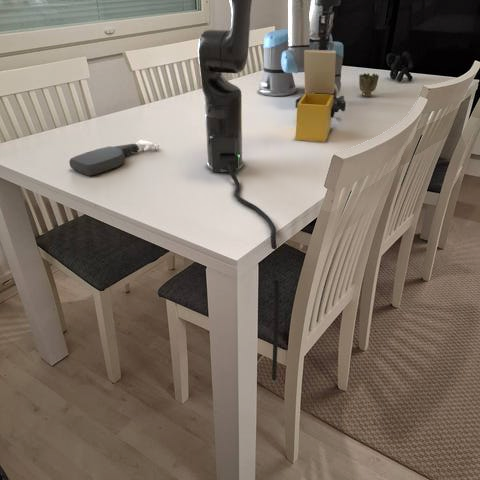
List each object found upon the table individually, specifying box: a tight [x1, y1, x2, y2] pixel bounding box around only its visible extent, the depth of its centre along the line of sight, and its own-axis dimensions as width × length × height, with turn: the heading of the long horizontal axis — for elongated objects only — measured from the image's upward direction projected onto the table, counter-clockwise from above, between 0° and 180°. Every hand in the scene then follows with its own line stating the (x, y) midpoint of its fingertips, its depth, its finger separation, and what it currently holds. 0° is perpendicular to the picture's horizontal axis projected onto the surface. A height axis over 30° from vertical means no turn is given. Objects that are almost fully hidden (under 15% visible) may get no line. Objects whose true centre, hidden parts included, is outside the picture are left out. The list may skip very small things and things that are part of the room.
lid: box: [303, 42, 336, 94], centre depth 136 cm, size 14×9×8 cm
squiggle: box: [385, 51, 414, 83], centre depth 198 cm, size 11×10×15 cm
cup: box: [358, 72, 380, 98], centre depth 176 cm, size 8×7×8 cm
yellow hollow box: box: [295, 92, 334, 143], centre depth 138 cm, size 13×9×11 cm
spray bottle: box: [68, 139, 160, 177], centre depth 124 cm, size 3×11×24 cm
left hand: (323, 50), depth 135 cm, fingers open, 4 cm apart
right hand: (316, 111), depth 140 cm, fingers closed on yellow hollow box, 9 cm apart
